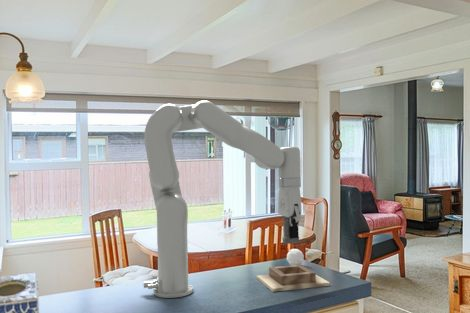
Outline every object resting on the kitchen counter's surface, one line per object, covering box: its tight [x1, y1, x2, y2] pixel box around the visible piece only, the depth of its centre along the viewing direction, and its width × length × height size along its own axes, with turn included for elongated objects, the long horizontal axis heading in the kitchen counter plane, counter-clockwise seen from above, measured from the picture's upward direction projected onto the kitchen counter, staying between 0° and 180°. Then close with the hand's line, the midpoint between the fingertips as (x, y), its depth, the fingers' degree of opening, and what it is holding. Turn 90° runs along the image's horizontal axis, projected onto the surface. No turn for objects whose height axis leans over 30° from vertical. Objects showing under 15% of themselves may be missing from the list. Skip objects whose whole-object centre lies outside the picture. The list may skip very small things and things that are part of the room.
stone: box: [281, 215, 300, 245], centre depth 146 cm, size 3×6×10 cm, turn 82°
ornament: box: [286, 248, 305, 265], centre depth 168 cm, size 6×7×7 cm
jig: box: [256, 264, 331, 292], centre depth 146 cm, size 20×16×4 cm
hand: (290, 236), depth 146 cm, fingers closed on stone, 4 cm apart
